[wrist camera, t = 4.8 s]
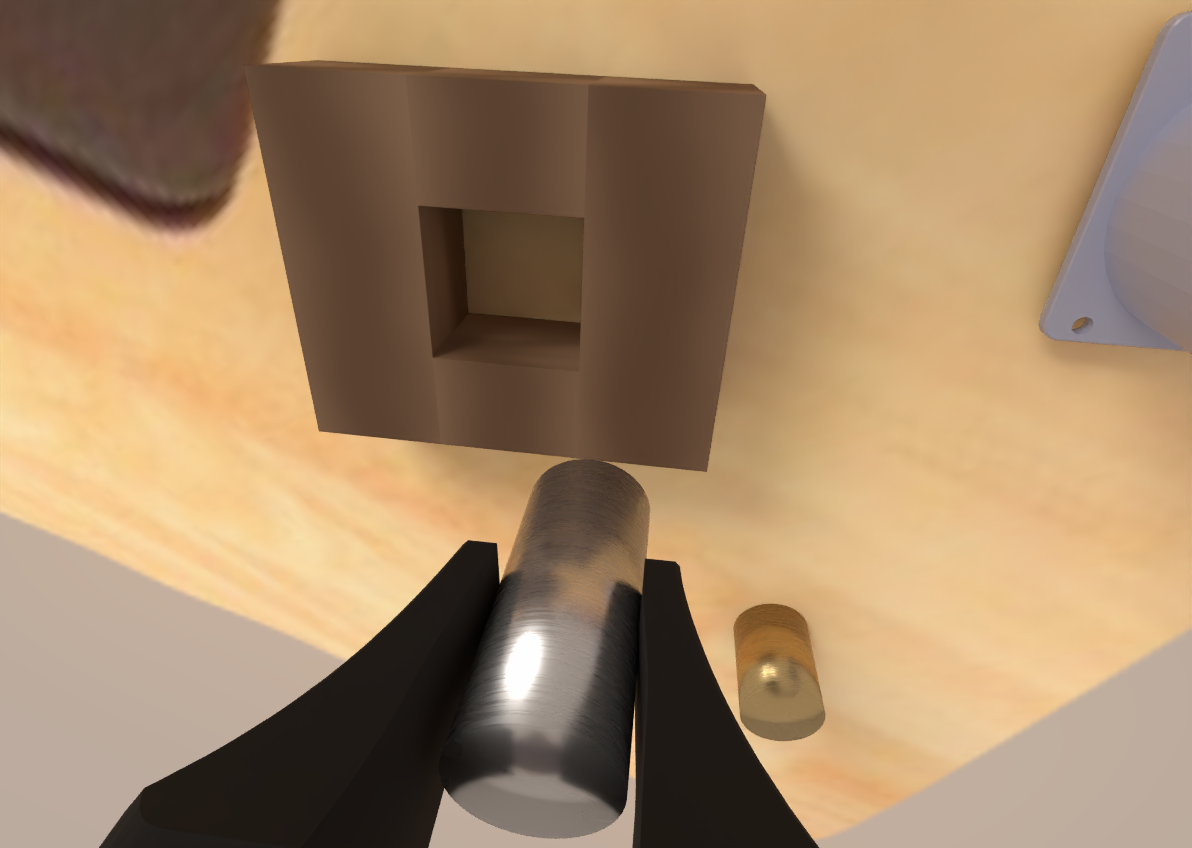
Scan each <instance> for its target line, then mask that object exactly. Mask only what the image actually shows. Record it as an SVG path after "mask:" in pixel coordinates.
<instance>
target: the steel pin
mask: <svg viewBox="0 0 1192 848" xmlns="http://www.w3.org/2000/svg"><path fill="white" fill-rule="evenodd" d="M649 522H650V506H649V501H648V498H647V496H646V494H645V492H644V490H643V489H642V487H641V486H640V484H639V483H638V482H637V481H636V480H635V479H634V478H633V477H632V476H631V475H629V474H628V473H627V472H625V471H624V470H622V469H620V468H618V467H616V466H614V465H611V464H609V463H605V462H602V461H597V460H587V459H581V460H572V461H567V462H564V463H561V464H558V465H556V466H554V467H552V468H551V469H549V470H547V471H546V472H545V473H544V474H543V475H542V476H541V477H540V478H539V479H538V480H537V482H536V484H535V485H534V488H533V490H532V493H531V496H530V499H529V501H528V504H527V507H526V510H525V513H524V516H523V519H522V522H521V525H520V528H519V530H518V533H517V536H516V539H515V542H514V545H513V548H512V551H511V554H510V557H509V559H508V562H507V565H506V568H505V571H504V574H503V577H502V580H501V583H500V586H499V588H498V591H497V594H496V597H495V600H494V603H493V606H492V609H491V612H490V615H489V618H488V620H487V623H486V626H485V629H484V632H483V635H482V638H481V641H480V644H479V647H478V649H477V652H476V655H475V658H474V661H473V664H472V667H471V670H470V673H469V676H468V678H467V681H466V684H465V687H464V690H463V693H462V696H461V699H460V702H459V705H458V707H457V710H456V713H455V716H454V719H453V722H452V725H451V728H450V731H449V734H448V737H447V739H446V742H445V745H444V748H443V751H442V754H441V757H440V761H439V775H440V779H441V782H442V784H443V786H444V788H445V789H446V791H447V792H448V794H449V795H450V796H451V797H452V798H453V799H454V801H455V802H457V803H458V804H459V805H460V806H461V807H462V808H463V809H465V810H466V811H468V812H469V813H470V814H472V815H474V816H475V817H477V818H478V819H480V820H483V821H485V822H486V823H488V824H491V825H493V826H495V827H498V828H501V829H504V830H507V831H510V832H514V833H517V834H521V835H526V836H532V837H539V838H555V839H557V838H572V837H580V836H584V835H588V834H592V833H595V832H597V831H600V830H602V829H604V828H606V827H607V826H609V825H611V824H612V823H613V822H614V821H615V820H617V819H618V817H619V816H620V815H621V814H622V812H623V810H624V808H625V805H626V801H627V791H628V779H629V767H630V755H631V742H632V730H633V718H634V706H635V693H636V681H637V669H638V636H639V622H640V610H641V598H642V586H643V574H644V563H645V559H647V546H648V534H649Z"/></svg>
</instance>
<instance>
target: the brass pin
mask: <svg viewBox="0 0 1192 848" xmlns="http://www.w3.org/2000/svg"><path fill="white" fill-rule="evenodd" d="M734 641H735V654H736V667H737V680H738V694H739V707H740V718H741V721H742V723H743V724H744V726H745V727H746V728H747V729H748V730H749V731H751V732H752V733H754V734H755V735H758V736H760V737H762V738H766V739H769V740H775V741H792V740H798V739H802V738H805V737H807V736H810V735H811V734H813V733H815V732H816V731H817V730H818V729H819V728H820V727H821V726H822V725H823V722H824V720H825V711H824V706H823V701H822V696H821V691H820V686H819V681H818V676H817V671H816V666H815V661H814V656H813V651H812V646H811V641H810V636H809V631H808V626H807V623H806V621H805V619H804V617H803V616H802V615H801V614H800V613H799V612H797V611H796V610H794V609H792V608H790V607H787V606H783V605H778V604H763V605H758V606H755V607H752V608H750V609H748V610H746V611H744V612H743V613H742V614H741V615H740V616H739V617H738V618H737V620H736V621H735V624H734Z"/></svg>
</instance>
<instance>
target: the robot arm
mask: <svg viewBox="0 0 1192 848" xmlns="http://www.w3.org/2000/svg"><path fill="white" fill-rule="evenodd" d="M1083 317H1086V321H1085V323H1084V324H1083V325H1082V326H1081V327H1079V328H1077V329H1072V326H1073V324H1074V323H1075V321H1076V320H1078V319H1080V318H1083ZM1039 328H1040V330H1041V331H1042V332H1043V333H1044V334H1045V335H1046V336H1047V337H1049V338H1050V339H1054V340H1061V341H1072V342H1084V343H1096V344H1108V345H1120V346H1132V347H1144V348H1156V349H1167V350H1179V351H1188V352H1189V353H1191V354H1192V11H1187V12H1182V13H1180V14H1178V15H1176V16H1174V17H1172V18H1171V19H1170V20H1169V21H1168V22H1167V23H1166V24H1165V25H1164V26H1163V28H1162V29H1161V31H1160V33H1159V34H1158V36H1157V39H1156V41H1155V43H1154V46H1153V48H1152V51H1151V53H1150V55H1149V58H1148V60H1147V63H1146V65H1145V67H1144V70H1143V72H1142V75H1141V77H1140V79H1139V82H1138V84H1137V87H1136V89H1135V91H1134V94H1133V96H1132V99H1131V101H1130V103H1129V106H1128V108H1127V111H1126V113H1125V115H1124V118H1123V120H1122V123H1121V125H1120V127H1119V130H1118V132H1117V135H1116V137H1115V139H1114V142H1113V144H1112V146H1111V149H1110V151H1109V154H1108V156H1107V158H1106V161H1105V163H1104V166H1103V168H1102V170H1101V173H1100V175H1099V178H1098V180H1097V182H1096V185H1095V187H1094V190H1093V192H1092V194H1091V197H1090V199H1089V202H1088V204H1087V206H1086V209H1085V211H1084V214H1083V216H1082V218H1081V221H1080V223H1079V226H1078V228H1077V230H1076V233H1075V235H1074V238H1073V240H1072V242H1071V245H1070V247H1069V249H1068V252H1067V254H1066V257H1065V259H1064V261H1063V264H1062V266H1061V269H1060V271H1059V273H1058V276H1057V278H1056V281H1055V283H1054V285H1053V288H1052V290H1051V293H1050V295H1049V297H1048V300H1047V302H1046V305H1045V307H1044V309H1043V312H1042V314H1041V317H1040V320H1039ZM499 586H500V581H499V566H498V551H497V543H489V542H480V541H470V540H468V541H467V542H466V543H464V544H463V545H462V546H461V547H460V549H459V550H458V551H457V552H456V553H455V554H454V556H453V557H452V558H451V559H450V560H449V561H448V562H447V564H446V565H445V566H444V567H443V568H442V569H441V570H440V571H439V573H438V574H437V575H436V576H435V577H434V578H433V579H432V580H431V581H430V582H429V583H428V584H427V586H426V587H425V588H424V589H423V590H422V591H421V592H420V593H419V594H418V595H417V596H416V597H415V598H414V599H413V600H412V601H411V602H410V603H409V604H408V605H407V606H406V607H405V608H404V609H403V610H402V611H401V612H400V613H399V614H398V615H397V616H396V617H395V618H394V619H393V620H392V621H391V622H390V623H389V624H388V625H387V626H386V627H384V628H383V629H382V630H381V631H380V632H379V633H378V634H377V635H376V636H375V637H374V638H373V639H372V640H370V641H369V642H368V643H367V644H366V645H365V646H364V647H363V648H361V649H360V650H359V651H358V652H357V653H356V654H354V655H353V656H352V657H351V658H350V659H348V660H347V661H346V662H345V663H344V664H342V665H341V666H340V667H339V668H337V669H336V670H335V671H334V672H332V673H331V674H330V675H329V676H327V677H326V678H325V679H323V680H322V681H321V682H319V683H318V684H317V685H315V686H314V687H313V688H311V689H310V690H308V691H307V692H306V693H305V694H303V695H302V696H300V697H299V698H297V699H296V700H295V701H293V702H292V703H290V704H289V705H288V706H286V707H285V708H283V709H282V710H280V711H279V712H277V713H276V714H274V715H273V716H271V717H270V718H268V719H266V720H265V721H263V722H262V723H260V724H259V725H257V726H255V727H254V728H252V729H251V730H249V731H247V732H246V733H244V734H243V735H241V736H239V737H238V738H236V739H235V740H233V741H231V742H229V743H228V744H226V745H224V746H223V747H221V748H219V749H217V750H216V751H214V752H212V753H210V754H208V755H207V756H205V757H203V758H201V759H199V760H197V761H195V762H193V763H192V764H190V765H188V766H186V767H184V768H182V769H180V770H178V771H176V772H174V773H173V774H171V775H169V776H167V777H165V778H163V779H161V780H159V781H158V782H156V783H153V784H151V785H149V786H147V787H145V788H144V789H143V790H142V792H141V793H140V794H139V795H138V797H137V798H136V799H135V800H134V801H133V803H132V804H131V805H130V806H129V807H128V809H127V810H126V811H125V812H124V814H123V815H122V816H121V818H120V819H119V821H118V822H117V823H116V825H115V826H114V828H113V829H112V830H111V832H110V833H109V834H108V836H107V837H106V839H105V840H104V842H103V843H102V844H101V846H100V847H99V848H428V847H429V843H430V839H431V835H432V831H433V828H434V824H435V820H436V817H437V813H438V809H439V806H440V802H441V798H442V794H443V791H444V786H443V784H442V782H441V779H440V775H439V761H440V757H441V754H442V751H443V748H444V745H445V742H446V739H447V737H448V734H449V731H450V728H451V725H452V722H453V719H454V716H455V713H456V710H457V707H458V705H459V702H460V699H461V696H462V693H463V690H464V687H465V684H466V681H467V678H468V676H469V673H470V670H471V667H472V664H473V661H474V658H475V655H476V652H477V649H478V647H479V644H480V641H481V638H482V635H483V632H484V629H485V626H486V623H487V620H488V618H489V615H490V612H491V609H492V606H493V603H494V600H495V597H496V594H497V591H498V588H499ZM635 753H636V801H635V821H634V834H633V848H819V847H818V845H817V844H816V843H815V841H814V840H813V839H812V838H811V836H810V835H809V833H808V832H807V831H806V829H805V828H804V826H803V825H802V824H801V822H800V821H799V820H798V818H797V817H796V815H795V814H794V813H793V811H792V810H791V808H790V807H789V806H788V804H787V803H786V801H785V799H784V798H783V796H782V795H781V793H780V792H779V790H778V789H777V787H776V786H775V784H774V783H773V781H772V780H771V778H770V777H769V775H768V773H767V772H766V770H765V769H764V767H763V766H762V764H761V763H760V761H759V760H758V758H757V756H756V754H755V753H754V751H753V749H752V748H751V746H750V744H749V742H748V741H747V739H746V737H745V736H744V734H743V732H742V730H741V728H740V726H739V725H738V723H737V721H736V719H735V717H734V715H733V713H732V711H731V710H730V708H729V706H728V704H727V702H726V700H725V697H724V695H723V693H722V691H721V689H720V687H719V685H718V683H717V680H716V678H715V676H714V674H713V671H712V669H711V667H710V665H709V662H708V660H707V657H706V655H705V652H704V650H703V647H702V644H701V642H700V639H699V636H698V634H697V631H696V628H695V626H694V623H693V620H692V617H691V613H690V610H689V607H688V603H687V600H686V596H685V592H684V588H683V584H682V578H681V572H680V566H679V565H678V564H677V563H676V562H673V561H664V560H654V559H645V563H644V574H643V586H642V598H641V610H640V622H639V636H638V669H637V681H636V693H635Z"/></svg>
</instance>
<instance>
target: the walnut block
mask: <svg viewBox="0 0 1192 848" xmlns="http://www.w3.org/2000/svg"><path fill="white" fill-rule="evenodd" d="M243 66H244V71H245V76H246V81H247V86H248V90H249V95H250V100H251V105H252V110H253V115H254V119H255V124H256V129H257V134H258V139H259V144H260V148H261V153H262V158H263V163H264V168H265V173H266V177H267V182H268V187H269V192H270V197H271V202H272V206H273V211H274V216H275V221H276V226H277V231H278V235H279V240H280V245H281V250H282V255H283V260H284V264H285V269H286V274H287V279H288V284H289V288H290V293H291V298H292V303H293V308H294V313H295V317H296V322H297V327H298V332H299V337H300V342H301V346H302V351H303V356H304V361H305V366H306V371H307V375H308V380H309V385H310V390H311V395H312V400H313V404H314V409H315V414H316V419H317V424H318V429H319V431H322V432H332V433H341V434H351V435H360V436H370V437H379V438H389V439H398V440H408V441H418V442H427V443H437V444H446V445H456V446H465V447H475V448H484V449H494V450H504V451H513V452H523V453H532V454H542V455H551V456H561V457H570V458H580V459H590V460H599V461H609V462H618V463H628V464H637V465H647V466H656V467H666V468H675V469H685V470H695V471H704V472H707V467H708V461H709V454H710V448H711V442H712V435H713V429H714V423H715V416H716V410H717V404H718V397H719V391H720V385H721V378H722V372H723V366H724V359H725V353H726V347H727V341H728V334H729V328H730V322H731V315H732V309H733V303H734V296H735V290H736V284H737V277H738V271H739V265H740V258H741V252H742V246H743V239H744V233H745V227H746V221H747V214H748V208H749V202H750V195H751V189H752V183H753V176H754V170H755V164H756V157H757V151H758V145H759V138H760V132H761V126H762V119H763V113H764V107H765V101H766V94H765V93H763V92H762V91H761V90H759V89H758V88H757V87H756V86H754V85H752V84H734V83H716V82H698V81H680V80H662V79H644V78H625V77H607V76H589V75H571V74H553V73H535V72H517V71H499V70H481V69H463V68H444V67H426V66H408V65H390V64H372V63H354V62H336V61H318V60H316V61H301V62H286V63H272V64H257V65H243ZM462 209H470V210H484V211H498V212H511V213H525V214H538V215H552V216H566V217H579V218H584V239H583V270H582V301H581V323H575V322H564V321H552V320H541V319H529V318H518V317H507V316H495V315H484V314H472V313H468V300H467V284H466V268H465V252H464V236H463V220H462Z"/></svg>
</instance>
